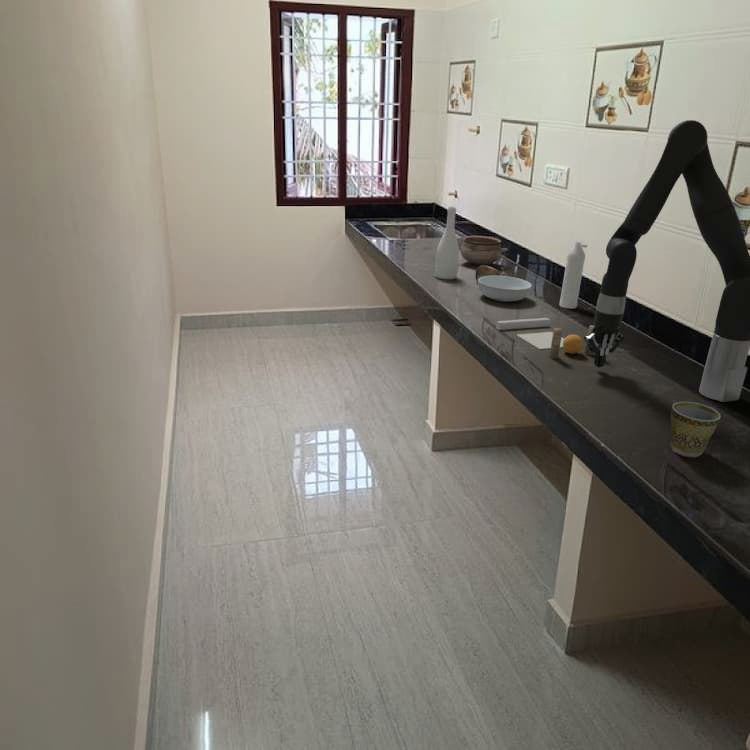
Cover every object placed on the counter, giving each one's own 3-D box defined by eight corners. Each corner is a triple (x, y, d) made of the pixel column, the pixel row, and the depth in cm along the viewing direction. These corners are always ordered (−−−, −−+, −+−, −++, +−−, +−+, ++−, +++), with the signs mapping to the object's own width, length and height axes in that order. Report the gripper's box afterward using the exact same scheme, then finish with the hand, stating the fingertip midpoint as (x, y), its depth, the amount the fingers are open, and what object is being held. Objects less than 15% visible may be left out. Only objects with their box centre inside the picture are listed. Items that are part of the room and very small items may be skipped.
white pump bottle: (556, 304, 262) (566, 240, 252) (571, 304, 263) (582, 240, 254) (566, 310, 254) (577, 244, 244) (582, 310, 255) (593, 245, 246)
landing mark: (576, 346, 217) (576, 345, 216) (539, 349, 212) (539, 348, 212) (551, 332, 229) (551, 331, 228) (516, 335, 224) (516, 334, 224)
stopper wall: (548, 326, 235) (550, 319, 234) (499, 330, 228) (500, 323, 227) (545, 324, 236) (546, 317, 236) (496, 328, 230) (497, 321, 229)
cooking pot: (502, 262, 327) (505, 237, 322) (508, 271, 309) (511, 245, 305) (451, 259, 327) (453, 234, 323) (454, 268, 310) (456, 241, 305)
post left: (559, 358, 205) (564, 330, 202) (552, 359, 204) (557, 330, 201) (554, 355, 207) (559, 327, 204) (547, 356, 207) (552, 328, 203)
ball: (579, 356, 211) (589, 346, 206) (563, 358, 210) (572, 348, 204) (573, 339, 214) (582, 330, 208) (556, 341, 212) (565, 331, 207)
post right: (594, 354, 210) (600, 327, 206) (588, 355, 209) (593, 328, 205) (589, 352, 212) (594, 324, 208) (582, 352, 211) (587, 325, 208)
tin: (473, 282, 288) (476, 262, 284) (480, 281, 289) (482, 262, 286) (493, 291, 275) (496, 271, 272) (500, 291, 276) (502, 270, 273)
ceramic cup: (694, 465, 147) (705, 424, 143) (653, 446, 154) (663, 407, 150) (725, 450, 154) (736, 411, 150) (684, 433, 161) (694, 395, 158)
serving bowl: (505, 309, 252) (508, 291, 249) (465, 295, 267) (466, 278, 264) (540, 301, 264) (542, 284, 262) (499, 289, 279) (501, 272, 277)
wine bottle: (434, 274, 297) (440, 204, 286) (455, 275, 297) (462, 206, 286) (435, 279, 289) (441, 208, 277) (457, 280, 288) (464, 209, 277)
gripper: (599, 314, 184) (588, 373, 191) (637, 312, 189) (625, 369, 195) (582, 306, 191) (572, 363, 197) (620, 304, 195) (609, 359, 202)
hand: (598, 366), depth 196 cm, fingers closed
